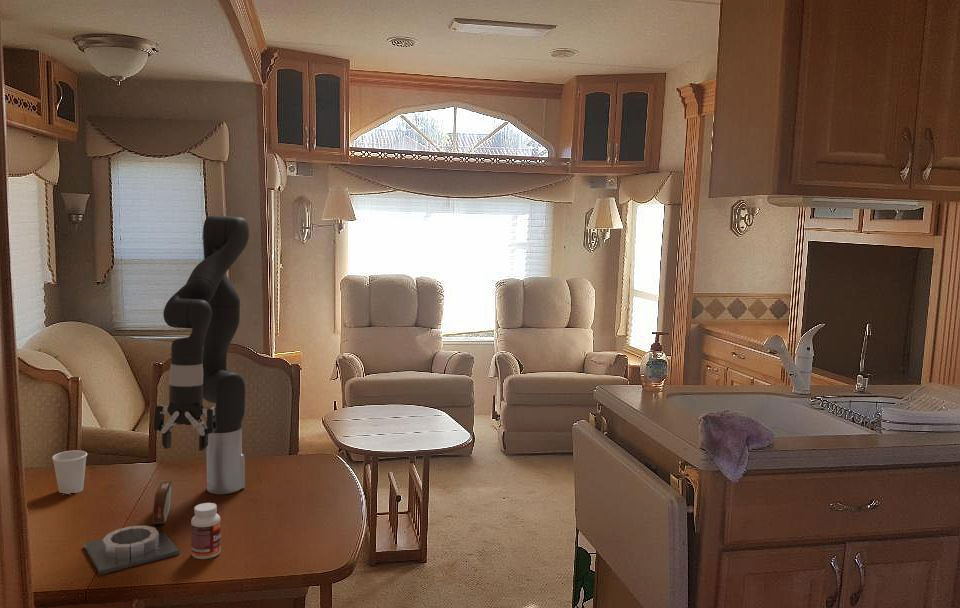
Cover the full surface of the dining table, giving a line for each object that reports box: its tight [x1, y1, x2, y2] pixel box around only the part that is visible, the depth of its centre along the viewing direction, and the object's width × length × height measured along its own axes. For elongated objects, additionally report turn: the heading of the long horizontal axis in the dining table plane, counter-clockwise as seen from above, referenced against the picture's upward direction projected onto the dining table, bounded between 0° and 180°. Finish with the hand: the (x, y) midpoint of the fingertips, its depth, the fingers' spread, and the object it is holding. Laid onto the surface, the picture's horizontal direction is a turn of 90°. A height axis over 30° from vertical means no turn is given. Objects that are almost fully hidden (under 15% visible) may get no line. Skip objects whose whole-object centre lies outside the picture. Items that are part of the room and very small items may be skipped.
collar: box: [83, 525, 180, 576], centre depth 163 cm, size 16×16×4 cm
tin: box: [152, 479, 173, 525], centre depth 181 cm, size 15×3×8 cm, turn 16°
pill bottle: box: [190, 502, 222, 560], centre depth 162 cm, size 6×6×11 cm
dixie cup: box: [51, 449, 88, 495], centre depth 196 cm, size 8×8×10 cm
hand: (184, 449), depth 174 cm, fingers open, 8 cm apart
